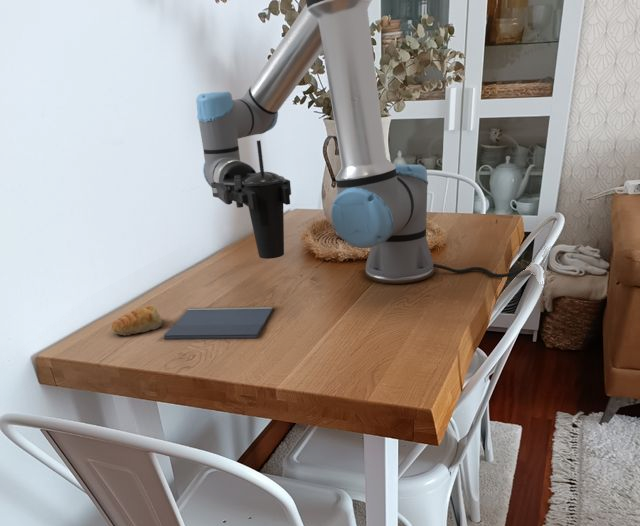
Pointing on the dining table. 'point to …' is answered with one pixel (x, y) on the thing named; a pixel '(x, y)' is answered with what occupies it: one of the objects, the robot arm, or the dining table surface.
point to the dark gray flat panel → (220, 323)
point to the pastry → (137, 321)
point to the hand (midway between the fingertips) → (271, 198)
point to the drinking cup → (267, 211)
